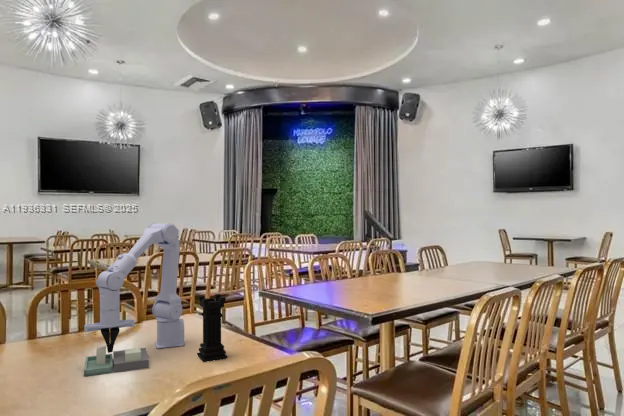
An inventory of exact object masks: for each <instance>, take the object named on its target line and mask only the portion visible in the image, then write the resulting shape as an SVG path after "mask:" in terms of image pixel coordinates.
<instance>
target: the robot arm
mask: <svg viewBox="0 0 624 416" xmlns="http://www.w3.org/2000/svg"><path fill="white" fill-rule="evenodd" d="M179 233H180V230H179V229H178V227H177V226H176V225H175V224H174V223H170V222H169V223H157V222H151V223H149V224H148V226H147V227H146V228H145V229H143V234H142V235H141V236H140V237H139V239H138V240H137V242H135V243H134V245H133V246H132V247H131V249H130V250H129V251H128V252H125V253H121V254H118V256H117V259H116V260H115V261H114V262H113V263H112V264H111V265H109V266H108V267H107V270H104V271H102V272H101V273H99V275H98V276H97V279H96V280H95V284H96V286H97V288H98V292H99V322H95V323H94V322H93V323H90V324H84V333H89V332H94V331H100V334H101V336H102V337H103V339H104V342H105V344H106V352H107V354H111V353H113V351H114V347H115V342H116V341H117V337H118V336H119V333H120V328H134V327H135V319H120V318H121V317H120V314H121V313H120V312H121V311H120V310H121V309H120V306H121V305H120V302H121V300H120V299H121V298H120V295H121V292H120V290H121V288H122V287H123V286H124V283H125V279H126V277H127V276H128V275H129V273H131V271H132V270H133V269H134V268H135V267H136V266H137V260H138V258H140V257H141V255H143V254H144V252H145V251H147V249H149V248H150V247H151V246H152V245H153V244H158V245H159V247H161V248H162V249H163V253H162V254H163V255H162V266H161V267H162V268H161V282H160V292H159V294H157V296H156V297H155V300H154V303H153V305H152V310H151V312H152V315H153V316H154V318H155V320H156V341H154V344H155V347H156V349H167V348H173V347H181V346H182V347H183V346H185V321H184V318H180V317H181V316H182V313H183V305H182V298H181V297H180V296H179V295H178V294H177V288H178V275H179V273H178V271H179V262H180V261H179V259H180V245H181V244H180V239H179Z"/></svg>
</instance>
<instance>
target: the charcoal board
mask: <svg viewBox="0 0 624 416" xmlns="http://www.w3.org/2000/svg"><path fill="white" fill-rule="evenodd" d="M139 348H140V350H141V360H137V361H130V362H125V350H126V349H121V350H116V351H115V350H113V352H112V362H113V374H114V373H120V372H121V373H122V372H128V371H129V372H130V371H135V370H137V371H138V370H143V369H149V368H150V359H149V355H148V351H147V347H139Z"/></svg>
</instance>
